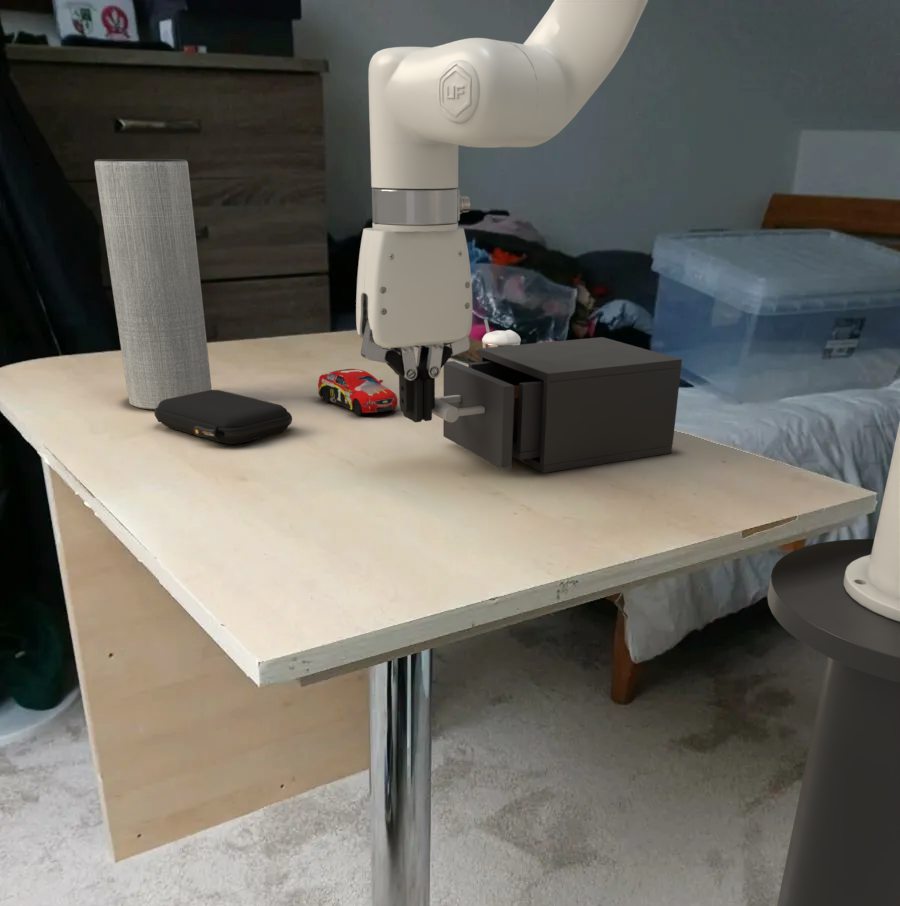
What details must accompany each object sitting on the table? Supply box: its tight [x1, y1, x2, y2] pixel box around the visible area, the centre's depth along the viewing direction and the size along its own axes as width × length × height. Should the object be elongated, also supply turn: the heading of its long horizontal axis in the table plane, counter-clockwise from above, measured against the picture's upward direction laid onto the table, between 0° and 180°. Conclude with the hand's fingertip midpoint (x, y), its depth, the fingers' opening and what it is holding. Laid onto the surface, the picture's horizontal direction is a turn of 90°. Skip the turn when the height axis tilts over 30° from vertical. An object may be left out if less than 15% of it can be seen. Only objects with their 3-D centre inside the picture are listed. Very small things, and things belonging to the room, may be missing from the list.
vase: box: [94, 158, 213, 411], centre depth 111 cm, size 10×10×27 cm
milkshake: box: [481, 318, 522, 348], centre depth 112 cm, size 5×5×10 cm
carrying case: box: [153, 389, 293, 445], centre depth 104 cm, size 11×3×15 cm
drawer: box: [432, 360, 544, 469], centre depth 95 cm, size 19×12×8 cm, turn 117°
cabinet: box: [478, 336, 683, 474], centre depth 98 cm, size 16×14×10 cm
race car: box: [317, 368, 399, 417], centre depth 114 cm, size 13×5×4 cm, turn 34°
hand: (417, 417), depth 90 cm, fingers closed
